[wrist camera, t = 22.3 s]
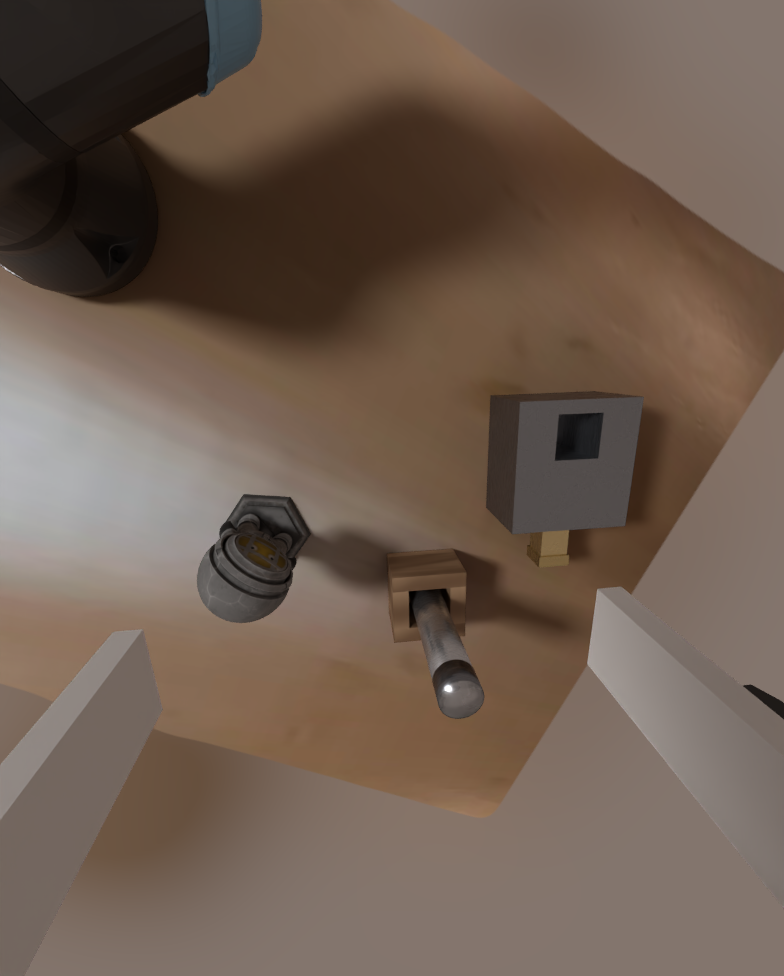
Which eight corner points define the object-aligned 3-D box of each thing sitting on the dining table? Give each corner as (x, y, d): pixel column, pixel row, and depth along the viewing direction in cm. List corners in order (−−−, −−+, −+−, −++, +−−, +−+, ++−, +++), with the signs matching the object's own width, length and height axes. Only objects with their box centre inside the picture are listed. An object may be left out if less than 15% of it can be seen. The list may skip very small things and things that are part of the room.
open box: (386, 553, 49) (392, 578, 43) (452, 548, 50) (466, 572, 44) (388, 611, 52) (394, 642, 46) (451, 606, 52) (464, 635, 47)
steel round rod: (406, 572, 49) (438, 683, 32) (436, 569, 49) (484, 678, 32) (406, 599, 50) (438, 720, 33) (436, 597, 50) (483, 716, 33)
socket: (486, 507, 49) (512, 534, 41) (490, 395, 45) (520, 401, 37) (582, 501, 50) (625, 525, 42) (594, 391, 46) (643, 396, 39)
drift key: (526, 554, 48) (538, 567, 45) (532, 479, 46) (545, 487, 43) (554, 552, 49) (568, 565, 46) (561, 477, 46) (576, 485, 43)
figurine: (322, 517, 47) (312, 583, 33) (276, 582, 49) (247, 673, 34) (255, 476, 45) (213, 528, 31) (209, 546, 47) (149, 626, 32)
